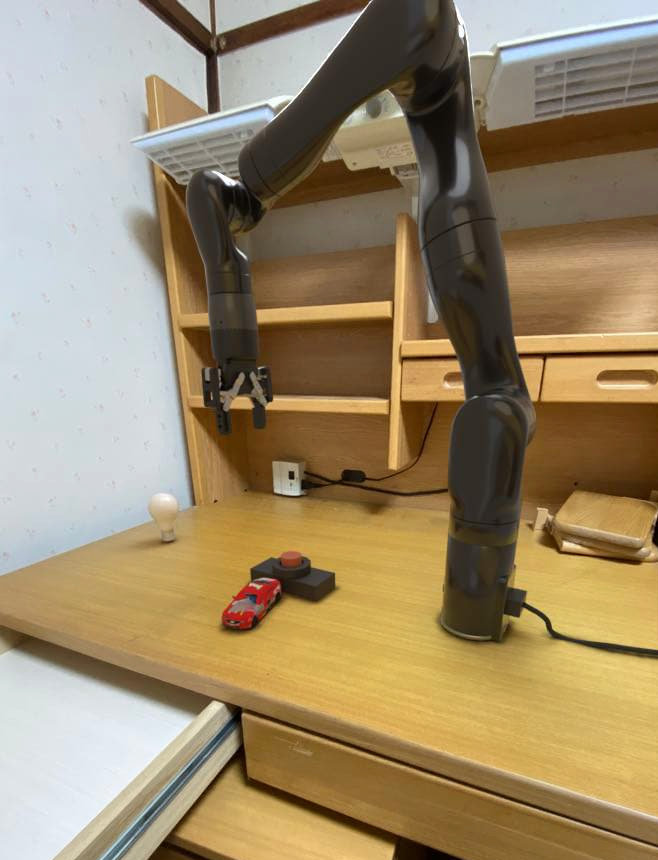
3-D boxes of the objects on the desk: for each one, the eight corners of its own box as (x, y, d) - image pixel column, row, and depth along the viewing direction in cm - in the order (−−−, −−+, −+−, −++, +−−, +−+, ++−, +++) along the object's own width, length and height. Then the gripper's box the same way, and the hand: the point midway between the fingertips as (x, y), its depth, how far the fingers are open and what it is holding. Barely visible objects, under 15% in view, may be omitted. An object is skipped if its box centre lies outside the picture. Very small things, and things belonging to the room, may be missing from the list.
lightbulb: (175, 547, 99) (168, 497, 95) (147, 545, 100) (139, 496, 96) (188, 537, 105) (182, 490, 101) (163, 535, 105) (155, 489, 102)
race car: (248, 636, 66) (245, 612, 65) (215, 629, 68) (212, 606, 66) (288, 595, 78) (286, 573, 76) (259, 590, 79) (257, 569, 78)
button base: (336, 587, 80) (335, 563, 79) (315, 602, 75) (314, 578, 74) (273, 570, 87) (271, 548, 85) (250, 584, 82) (248, 560, 80)
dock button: (306, 562, 80) (305, 553, 80) (293, 570, 77) (293, 560, 77) (289, 558, 82) (289, 549, 81) (277, 565, 79) (276, 556, 78)
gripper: (218, 323, 66) (230, 438, 71) (280, 329, 77) (286, 428, 83) (182, 327, 69) (196, 436, 75) (246, 331, 81) (254, 426, 86)
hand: (243, 431), depth 79 cm, fingers open, 8 cm apart
